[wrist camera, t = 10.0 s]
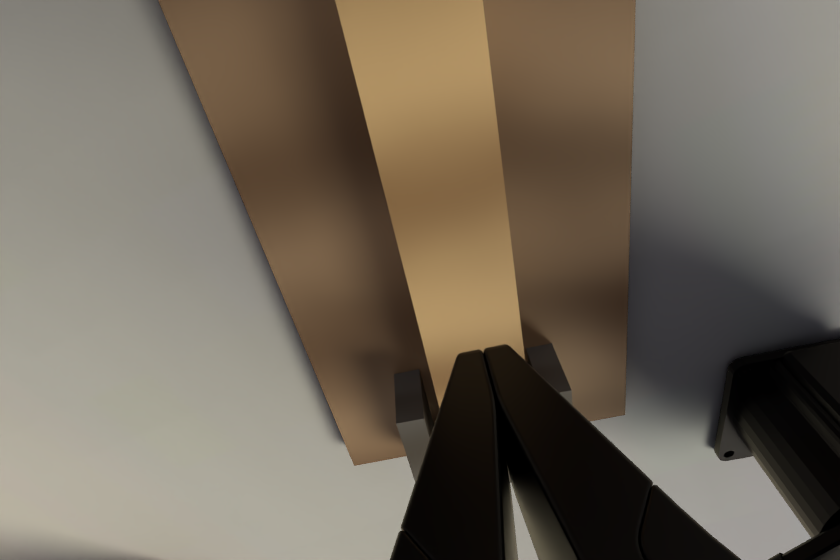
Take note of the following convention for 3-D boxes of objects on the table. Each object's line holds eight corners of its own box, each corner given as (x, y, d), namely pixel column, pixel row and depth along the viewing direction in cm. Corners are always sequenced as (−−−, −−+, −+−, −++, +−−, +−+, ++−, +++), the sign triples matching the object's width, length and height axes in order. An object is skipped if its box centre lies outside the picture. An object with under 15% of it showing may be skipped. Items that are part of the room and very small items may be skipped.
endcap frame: (616, 397, 24) (649, 463, 21) (355, 447, 25) (352, 517, 22) (627, -600, 10) (736, -824, 7) (0, -423, 10) (-148, -559, 7)
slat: (518, 400, 22) (536, 461, 20) (447, 414, 22) (456, 475, 20) (410, -403, 10) (422, -508, 8) (257, -362, 10) (219, -453, 8)
